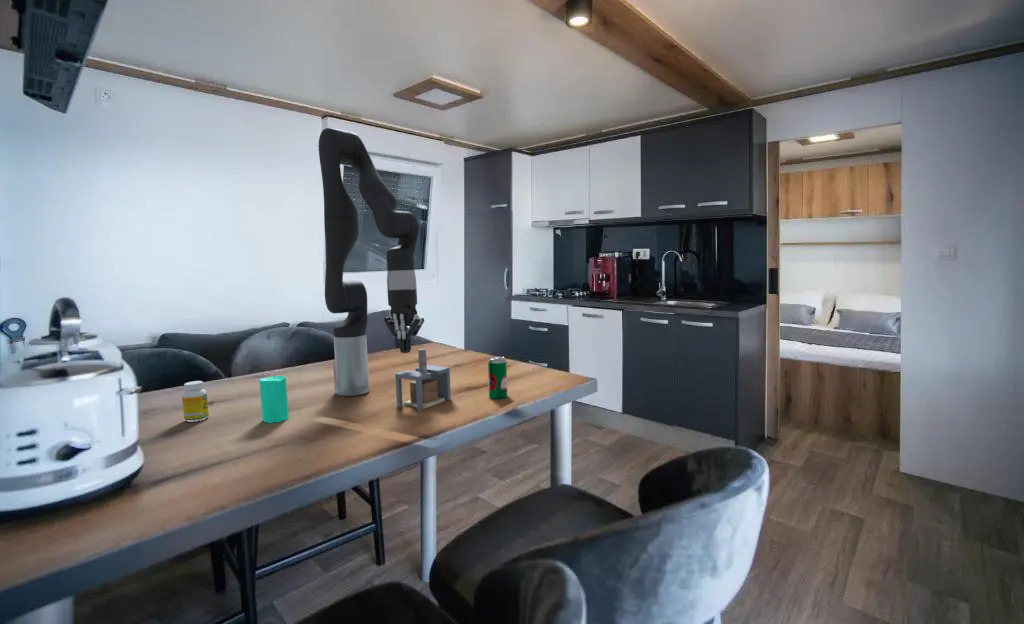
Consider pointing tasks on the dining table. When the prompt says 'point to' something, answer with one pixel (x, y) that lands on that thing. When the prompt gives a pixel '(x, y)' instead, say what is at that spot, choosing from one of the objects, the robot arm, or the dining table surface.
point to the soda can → (497, 378)
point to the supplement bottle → (195, 401)
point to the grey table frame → (432, 373)
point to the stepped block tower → (424, 386)
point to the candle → (274, 399)
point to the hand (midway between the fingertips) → (405, 352)
